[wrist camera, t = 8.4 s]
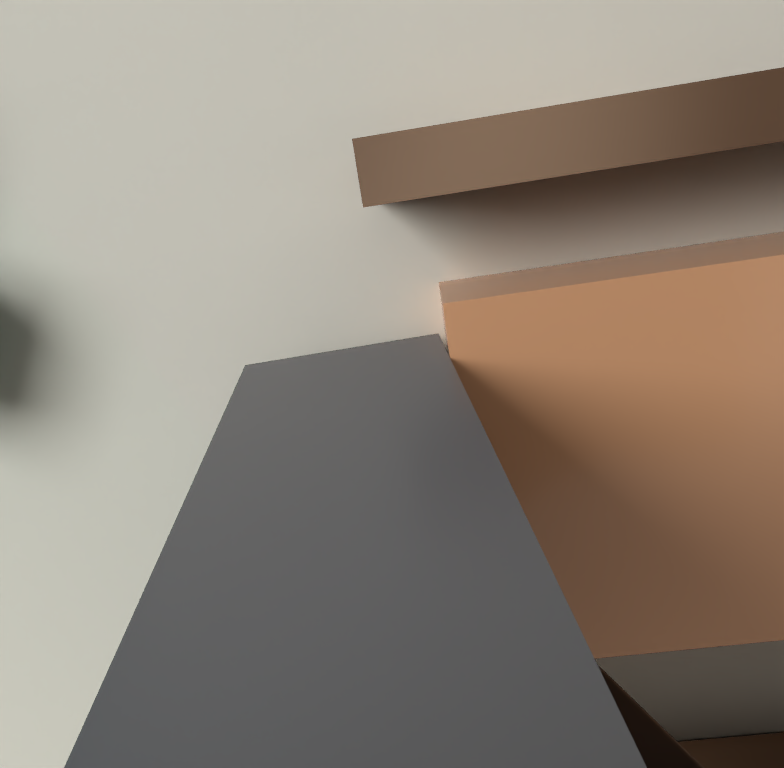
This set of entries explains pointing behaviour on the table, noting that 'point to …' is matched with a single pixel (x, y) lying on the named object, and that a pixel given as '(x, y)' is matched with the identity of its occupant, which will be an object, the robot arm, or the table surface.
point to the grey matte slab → (353, 593)
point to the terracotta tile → (641, 433)
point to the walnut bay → (579, 155)
